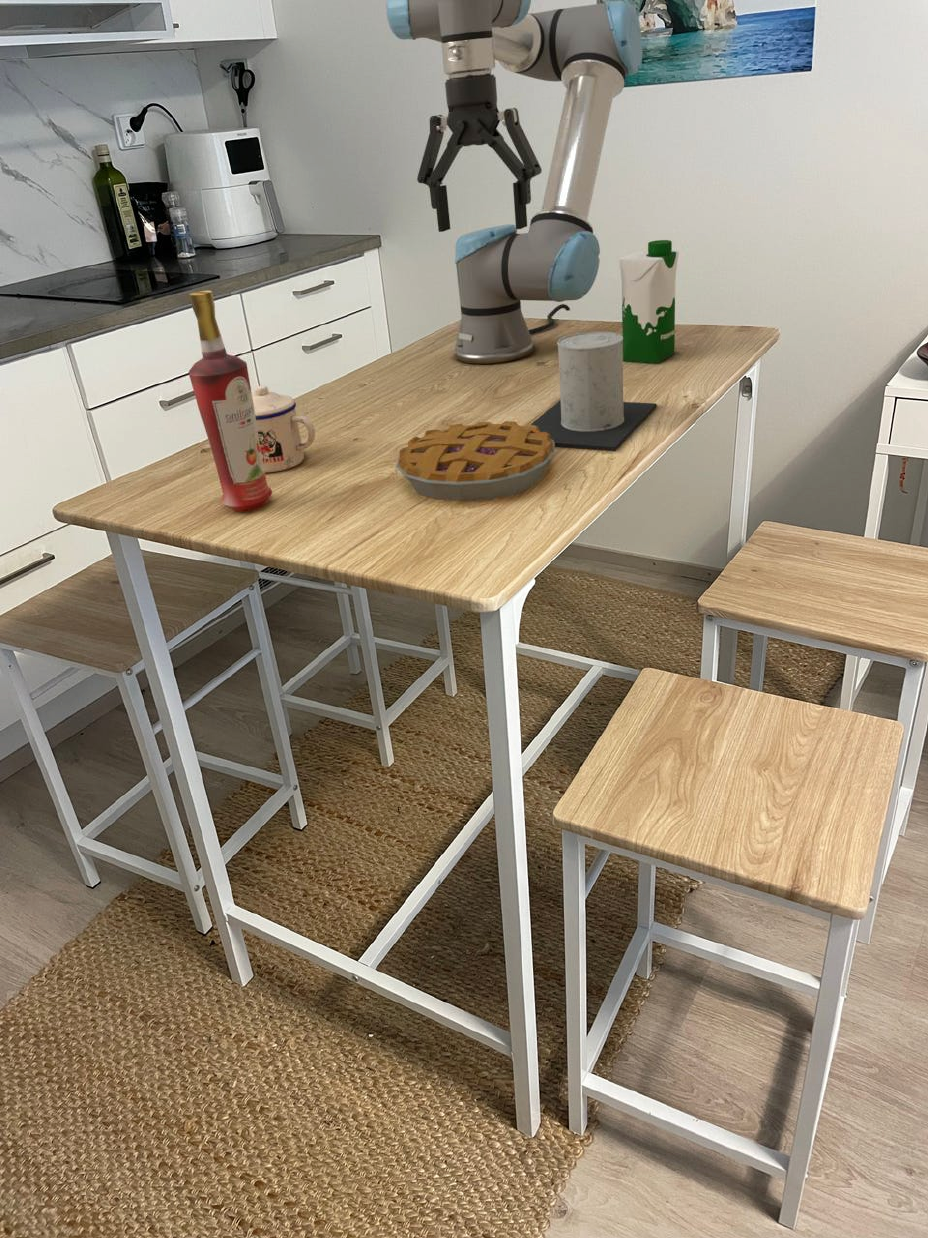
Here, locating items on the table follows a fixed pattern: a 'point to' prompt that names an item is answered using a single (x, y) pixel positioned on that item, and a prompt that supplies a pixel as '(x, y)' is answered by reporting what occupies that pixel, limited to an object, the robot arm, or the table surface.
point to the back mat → (598, 439)
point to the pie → (476, 460)
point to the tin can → (591, 381)
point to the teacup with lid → (279, 430)
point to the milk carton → (649, 303)
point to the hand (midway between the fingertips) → (482, 229)
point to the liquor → (227, 413)
